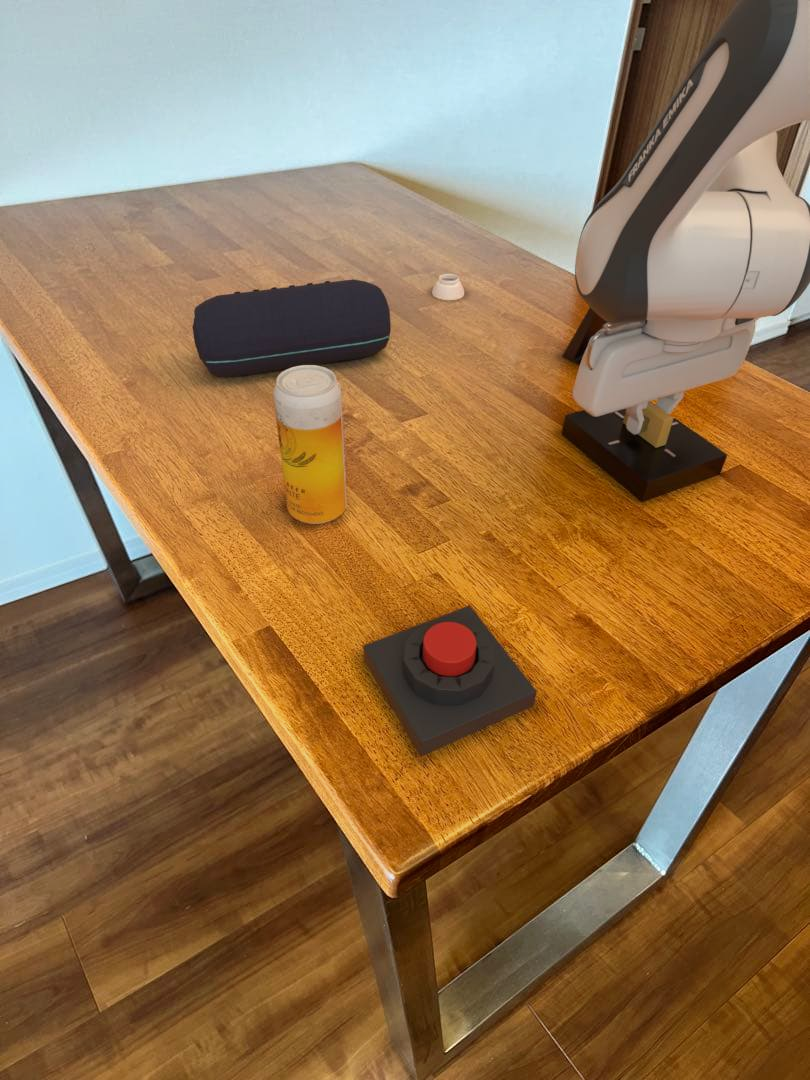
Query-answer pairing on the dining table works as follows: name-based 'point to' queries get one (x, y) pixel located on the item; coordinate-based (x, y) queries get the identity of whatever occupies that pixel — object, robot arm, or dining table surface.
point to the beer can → (311, 442)
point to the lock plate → (643, 454)
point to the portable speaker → (291, 327)
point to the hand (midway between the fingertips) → (645, 427)
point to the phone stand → (583, 336)
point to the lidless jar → (448, 288)
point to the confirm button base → (447, 684)
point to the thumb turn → (655, 425)
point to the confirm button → (449, 649)
